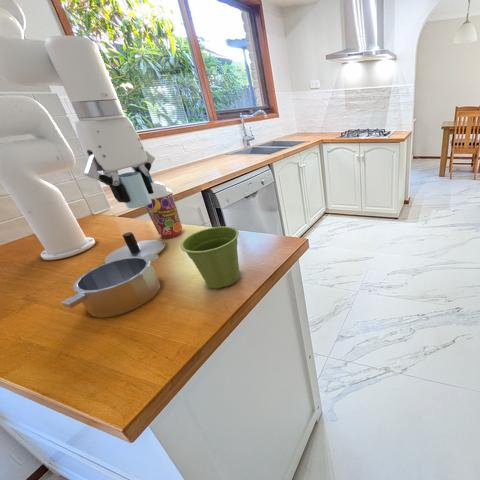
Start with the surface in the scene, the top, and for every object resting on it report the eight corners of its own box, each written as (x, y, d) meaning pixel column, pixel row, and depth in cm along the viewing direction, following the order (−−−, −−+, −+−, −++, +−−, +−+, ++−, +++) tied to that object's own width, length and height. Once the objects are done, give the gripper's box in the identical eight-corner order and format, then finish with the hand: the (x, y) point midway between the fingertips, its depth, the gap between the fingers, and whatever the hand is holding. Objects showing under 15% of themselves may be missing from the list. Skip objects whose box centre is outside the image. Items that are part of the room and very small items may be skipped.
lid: (94, 264, 79) (82, 243, 76) (142, 240, 91) (134, 221, 88) (130, 271, 74) (119, 249, 71) (176, 245, 86) (168, 225, 83)
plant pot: (186, 297, 63) (168, 252, 58) (211, 267, 74) (197, 227, 68) (239, 295, 63) (225, 250, 57) (256, 265, 73) (246, 225, 68)
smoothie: (173, 240, 89) (148, 177, 80) (151, 239, 91) (123, 177, 82) (191, 228, 97) (170, 169, 87) (170, 228, 98) (147, 169, 89)
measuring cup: (121, 207, 66) (107, 177, 63) (142, 200, 70) (130, 171, 67) (137, 209, 64) (123, 178, 61) (157, 201, 69) (145, 172, 65)
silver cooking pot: (59, 319, 59) (41, 294, 56) (143, 269, 75) (133, 248, 72) (102, 332, 55) (85, 306, 52) (182, 277, 70) (173, 254, 67)
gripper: (127, 108, 66) (157, 185, 75) (36, 116, 52) (85, 210, 61) (151, 107, 64) (179, 186, 72) (63, 115, 50) (110, 212, 58)
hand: (136, 196), depth 66 cm, fingers closed on measuring cup, 5 cm apart
